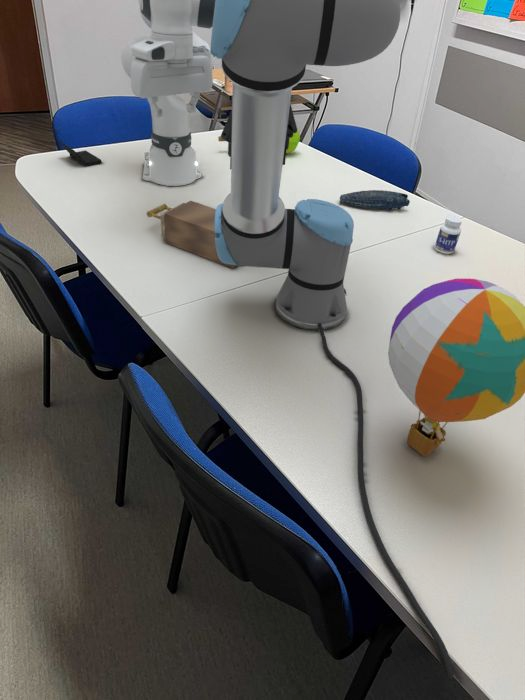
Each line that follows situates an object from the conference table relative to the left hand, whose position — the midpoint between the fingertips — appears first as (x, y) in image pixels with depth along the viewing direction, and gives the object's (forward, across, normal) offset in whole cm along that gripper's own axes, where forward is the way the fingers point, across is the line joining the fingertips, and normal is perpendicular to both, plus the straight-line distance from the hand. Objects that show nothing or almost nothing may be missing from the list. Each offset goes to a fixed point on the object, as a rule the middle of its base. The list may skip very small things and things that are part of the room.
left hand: (174, 114), depth 122 cm
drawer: (+28, +2, +9) cm, 29 cm away
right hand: (+10, -12, +17) cm, 23 cm away
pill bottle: (+29, -51, +51) cm, 78 cm away
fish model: (+28, -57, +21) cm, 67 cm away
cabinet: (+28, 0, +14) cm, 32 cm away
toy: (+30, +14, +88) cm, 93 cm away
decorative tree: (+28, -59, -34) cm, 73 cm away
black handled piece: (+28, -1, -57) cm, 64 cm away
